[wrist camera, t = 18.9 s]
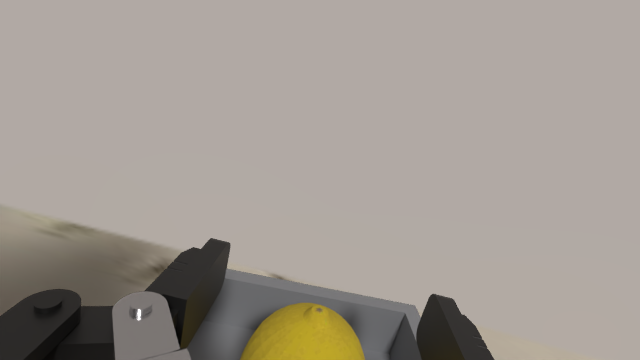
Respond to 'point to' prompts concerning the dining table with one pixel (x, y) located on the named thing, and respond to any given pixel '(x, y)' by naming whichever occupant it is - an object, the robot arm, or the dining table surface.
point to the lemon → (304, 336)
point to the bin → (273, 294)
